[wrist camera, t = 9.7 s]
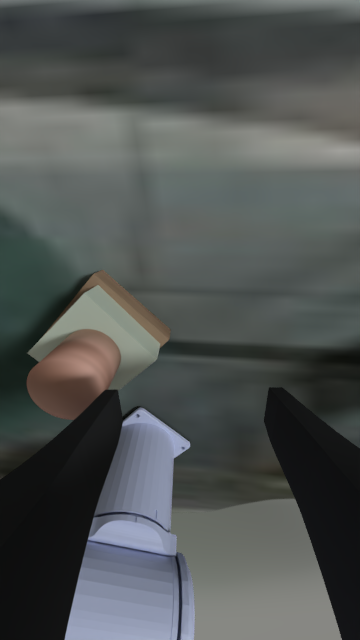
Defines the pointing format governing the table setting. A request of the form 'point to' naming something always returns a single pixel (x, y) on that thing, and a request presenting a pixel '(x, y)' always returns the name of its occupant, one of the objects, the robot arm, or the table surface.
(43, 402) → the salmon pink cylinder
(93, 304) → the sage top slab
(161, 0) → the table surface
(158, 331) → the walnut base slab
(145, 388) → the table surface
